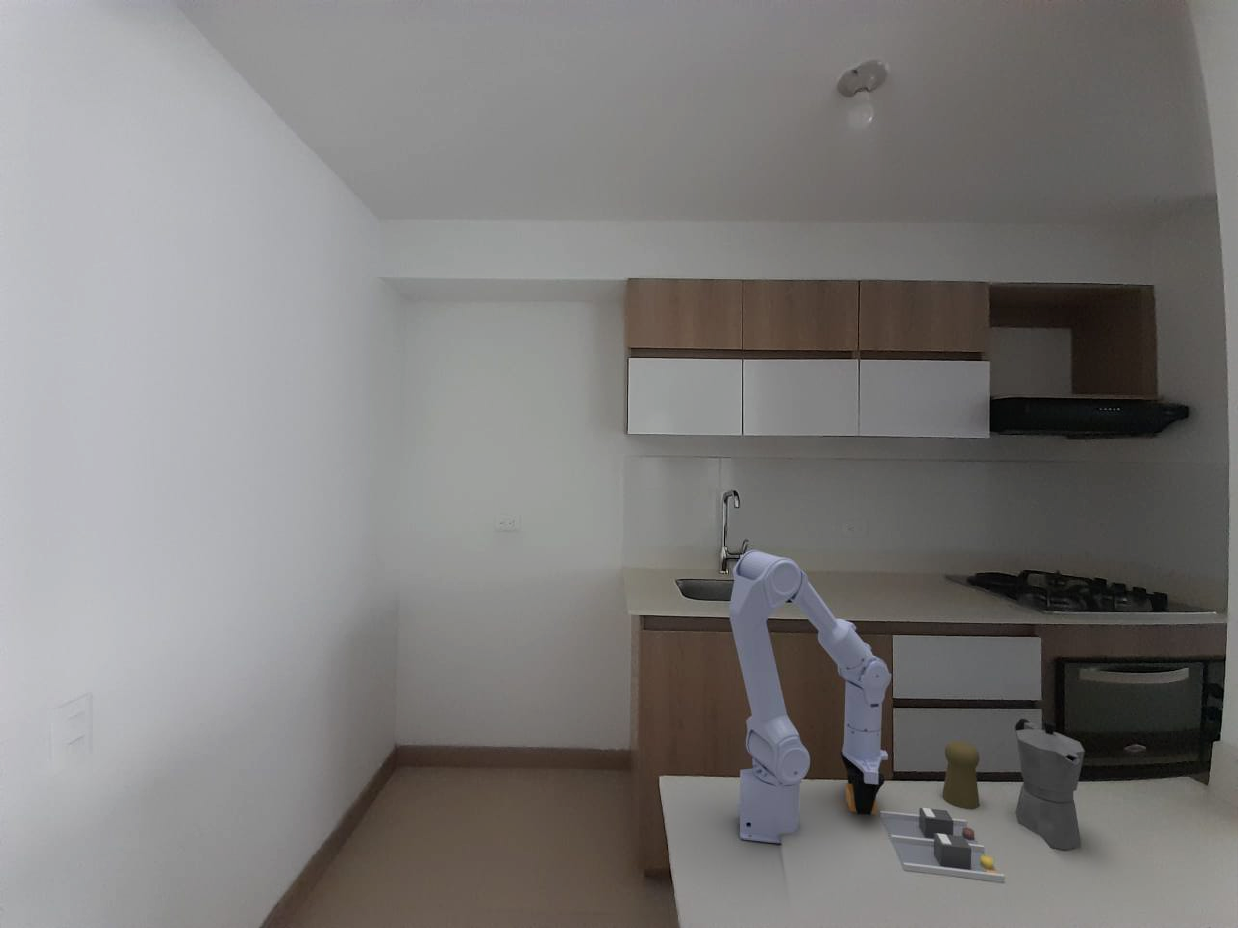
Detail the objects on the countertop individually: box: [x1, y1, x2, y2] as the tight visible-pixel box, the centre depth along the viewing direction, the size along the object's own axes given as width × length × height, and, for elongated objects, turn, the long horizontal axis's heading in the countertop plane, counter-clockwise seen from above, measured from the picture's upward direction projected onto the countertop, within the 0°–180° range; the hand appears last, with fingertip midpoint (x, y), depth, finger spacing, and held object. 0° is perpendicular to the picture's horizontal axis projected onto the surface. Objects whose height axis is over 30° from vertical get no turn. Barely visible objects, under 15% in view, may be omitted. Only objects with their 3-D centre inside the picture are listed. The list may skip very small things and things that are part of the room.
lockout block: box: [845, 782, 877, 815], centre depth 106 cm, size 4×4×4 cm
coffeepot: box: [1014, 718, 1086, 851], centre depth 103 cm, size 15×9×18 cm, turn 176°
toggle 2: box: [934, 833, 971, 870], centre depth 91 cm, size 4×3×3 cm
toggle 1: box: [918, 807, 954, 839], centre depth 98 cm, size 4×3×3 cm
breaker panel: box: [879, 810, 1006, 884], centre depth 95 cm, size 13×14×2 cm
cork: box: [941, 740, 981, 810], centre depth 108 cm, size 6×6×11 cm
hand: (860, 805), depth 106 cm, fingers closed on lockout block, 4 cm apart
